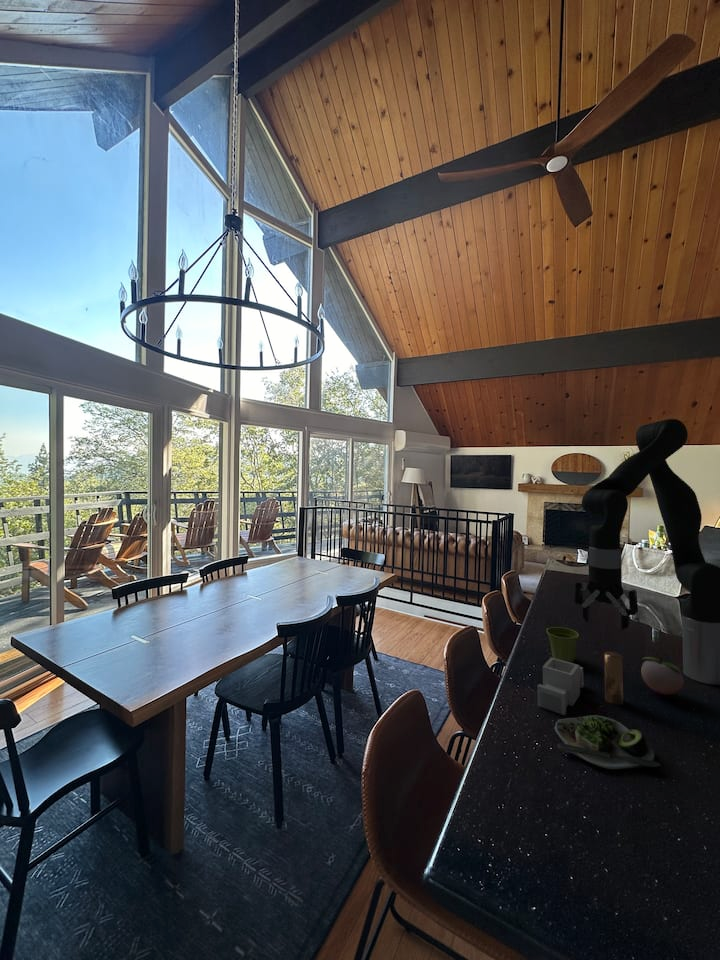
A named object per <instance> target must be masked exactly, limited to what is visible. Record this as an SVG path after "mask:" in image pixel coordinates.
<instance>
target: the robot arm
mask: <svg viewBox="0 0 720 960" xmlns="http://www.w3.org/2000/svg"><path fill="white" fill-rule="evenodd" d="M688 435H689V433H688V429H687V427H686V425H685V424H684V422H683V421H681V420H680V419H676V418H667V419H662V420H659V421H655V422H651V423H646V424H644V425H640V427H638V428H637V430H636V432H635V441H636V446H637V449H638V452H636V453H635V454H633V455H631V456H630V457H628V458H627V459H625V460H624V461H622V462H621V463H620V464H618V465H617V467H616V468H615V469H614V470H613V471H612V472H611V473H610V474H609V476H608V477H606V478H604V479H603V480H601V481H598V482H597V483H596V484H594V485H592V487H590V488H589V489H588V490H586V492H585V493H584V494H583V497H582V499H581V507H582V510H583V511H584V512H585V513H586V514H589V515H591V516H599V517H601V516H602V517H605V519H604V520H603V523H601V524H594V525H591V526H590V528H589V532H588V533H589V534H588V535H589V539H588V540H589V547H588V548H589V551H588V559H587V563H588V583H586V582H583V580H580V581H577V582H576V583H575V591H574V592H575V593H574V603H575V604H576V605H580V606H581V607H582V618H583V619H584V622H588V623H589V622H590V621H591V606H590V605H591V604H592V603H593V602H594V601H596V602H598V603H605V604H609V605H611V604H613V605H614V606H615V608H616V609H617V610H618V611H619V612H620V613H621V615H620V616H621V617H620V619H621V620H620V621H621V623H620V625H621V630H623V631H626V630H627V629H629V627H630V616H635V615H637V613H638V612H639V606H638V605H639V604H638V594H637V593H638V592H637V590H636V589H631V590H630V589H624V588H623V584H622V581H623V579H622V576H623V575H622V569H623V568H622V552H621V531H622V529H623V525H624V522H625V519H626V515H627V512H628V508H629V501H628V498H627V497H628V496H630V495H631V494H633V492H634V491H635V490H636V489H637V488H638V487H639V485H641V483H643V482H644V480H645V478H646V477H648V475H649V478H650V481H651V484H652V487H653V491H654V493H655V494H654V495H655V498H656V501H657V504H658V505H657V506H658V509H659V513H660V516H661V518H662V521H663V524H664V527H665V531H666V535H667V538H668V542H669V544H670V548H671V554H672V559H673V560H672V561H673V566H674V572H675V576H676V579H677V580H678V582H679V584H680V585H681V586H683V587H684V588H685V589H687V590H688V591H689V592H690V593H689V602H686V603H684V604H683V605H682V608H681V615H682V616H681V617H682V618H681V619H682V620H681V621H682V622H681V623H682V624H681V625H682V628H681V629H682V662H683V663H682V673H683V674H684V676H686V677H688V678H689V679H691V680H693V681H696V682H699V683H703V684H707V685H713V686H714V685H715V686H717V685H718V686H720V566H718V565H715V564H712V563H709V562H707V561H706V560H705V557H704V554H703V552H702V549H701V545H700V540H699V539H700V532H701V531H700V530H701V526H702V520H703V519H702V511H701V508H700V504H699V501H698V498H697V494H696V492H695V490H694V489H693V488H692V487H691V486H690V485H689V484H688V483H687V482H686V481H684V480H683V479H682V478H681V477H680V476H679V475H677V474H676V472H674V471H673V470H672V469H671V467H670V466H669V464H668V462H667V459H668V458H670V457H671V456H673V454H675V453H676V452H678V451H680V449H682V447H684V446H685V444H686V443H687V441H688V437H689V436H688ZM586 589H587V591H588V592H589V593H590V595H589V596H588V597H587V598H586V599H585V600H584V599H583V597H584V596H583V595H584V591H585V590H586ZM623 595H625V596H626V599H627V600H628V602H629V603H628V605H629V607H628V606H627V605H626V604H625V602H624V601H623V599H622V596H623Z"/></svg>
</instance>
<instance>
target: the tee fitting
mask: <svg viewBox="0 0 720 960" xmlns="http://www.w3.org/2000/svg"><path fill="white" fill-rule="evenodd" d="M536 687H537V690H536V691H537V707H540V708H543V709H545V710H549V711H551V712H554V713H556V714H557V713H558V714H559V715H563V716H566V714H567V707H568V706H570V707H573V706H574V705H575V703H576V701H577V700H578V699H579V697H580V695H581V689H583V688H584V667H582V666H580V664H576V663H573V662H566V661H563V660H559V659H555V658H553V657H550V658H549V659H548V660H547V661H546V662H545V663H544V664H543V666H542V684H540V683H539V684H537V686H536Z"/></svg>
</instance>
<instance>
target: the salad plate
mask: <svg viewBox="0 0 720 960" xmlns="http://www.w3.org/2000/svg"><path fill="white" fill-rule="evenodd" d="M553 729H554V732H555V733H556V734H557V736H558V738H559V739H560V740H561V741H562V742H559V743H557V748H558V750H561V751H564V752H567V753H570V754H572V755H575V757H577V758H580V759H582V760H584V761H586V762H587V763H590V764H592V765H594V766H597V767H600V768H601V769H602V768H603V769H607V770H623V769H624V770H625V769H626V770H627V769H640V768H658V767H661V766H662V764H661V763H659V762H658V761H655V757H656V755H655V752H654V750H653V749H652V747H650V745H649V744H648V743H647V742H646V741H647V740H646V738H645V736H644V734H643V733H642V732H641V731H640V730H638V729H632V728H631V729H628V727H626V726H625V725H623V724H622V723H621V722H619V721H618V720H615V719H613V718H610V717H606V716H604V715H595V714H594V715H593V714H592V715H585V716H577V717H565V718H562V719H558V720H557V721H556V722H555V726H554V727H553ZM574 730H575V731H574ZM573 731H574V733H575V735H574V736H575V738H573V737H572V736H571V733H572V732H573Z"/></svg>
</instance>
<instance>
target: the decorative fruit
mask: <svg viewBox="0 0 720 960" xmlns="http://www.w3.org/2000/svg"><path fill="white" fill-rule="evenodd" d="M641 659H642V660H645V661H644V662H643V663H642V664H641V665H642V666H641V668H640V669H641V670H640V672H641V673H640V674H641V678H642V680H643V681H644V683H645V684H646V686H647V687H648V688H650V689H651V690H653V691H655V692H656V693H658V694H660V695H661V696H663V695H667V696H669V695H674V694H677V693H678V692H679V691H680V690H682V688H683V686H684V684H685V683H684V682H685V680H684V676H683V674H684V673H683V670H681V669H680V668H679V667H678V666H676V664H674V663H671V662H668V661H667V662H666V661H663V657H662V656H661V657H660V659H658V658H656V657H652V656H645V657H643V658H641Z"/></svg>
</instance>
